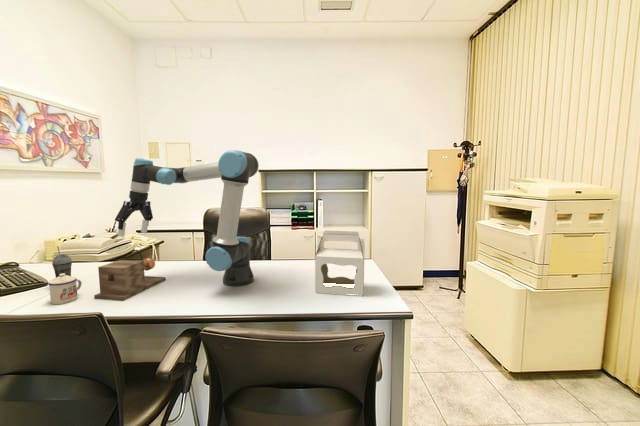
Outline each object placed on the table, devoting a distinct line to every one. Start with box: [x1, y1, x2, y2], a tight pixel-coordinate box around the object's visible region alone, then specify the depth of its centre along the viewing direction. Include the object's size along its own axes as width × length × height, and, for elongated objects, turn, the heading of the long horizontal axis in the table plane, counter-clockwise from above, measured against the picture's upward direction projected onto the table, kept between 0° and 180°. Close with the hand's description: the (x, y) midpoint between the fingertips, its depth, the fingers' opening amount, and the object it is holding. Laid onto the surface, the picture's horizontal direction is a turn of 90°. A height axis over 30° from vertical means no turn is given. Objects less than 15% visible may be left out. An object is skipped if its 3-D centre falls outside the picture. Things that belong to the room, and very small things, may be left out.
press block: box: [93, 259, 167, 302], centre depth 138 cm, size 27×14×14 cm, turn 171°
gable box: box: [314, 230, 366, 296], centre depth 138 cm, size 22×13×28 cm, turn 80°
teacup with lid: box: [47, 273, 83, 305], centre depth 126 cm, size 12×9×12 cm
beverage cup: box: [52, 245, 73, 278], centre depth 141 cm, size 7×7×20 cm
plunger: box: [112, 257, 156, 279], centre depth 139 cm, size 22×6×6 cm, turn 171°
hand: (132, 234), depth 142 cm, fingers open, 13 cm apart
